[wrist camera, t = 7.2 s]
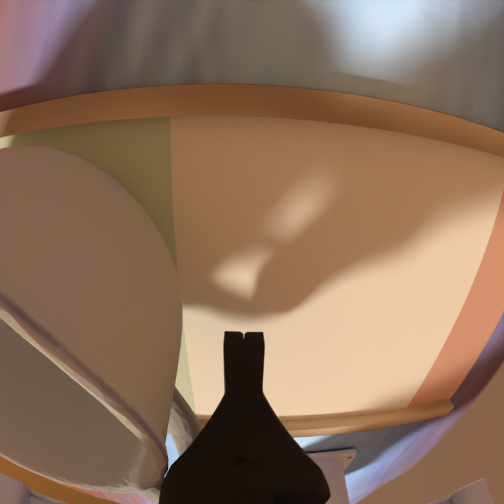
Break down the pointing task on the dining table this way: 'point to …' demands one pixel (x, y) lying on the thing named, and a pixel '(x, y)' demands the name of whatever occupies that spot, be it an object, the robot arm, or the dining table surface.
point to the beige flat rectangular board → (307, 237)
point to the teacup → (86, 328)
